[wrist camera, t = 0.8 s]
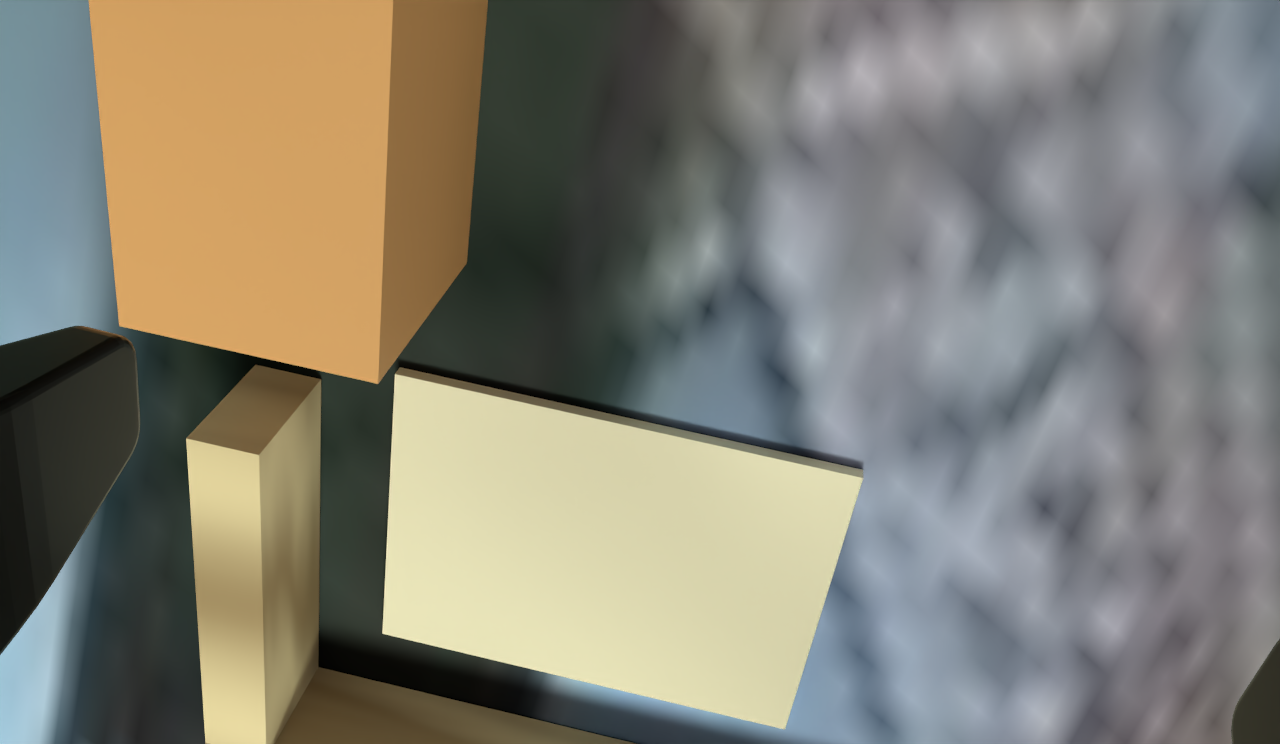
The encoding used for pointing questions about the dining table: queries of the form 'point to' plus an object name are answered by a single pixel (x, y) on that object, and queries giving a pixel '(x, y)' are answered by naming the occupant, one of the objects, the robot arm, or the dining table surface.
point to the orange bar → (288, 170)
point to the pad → (608, 546)
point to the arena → (294, 593)
